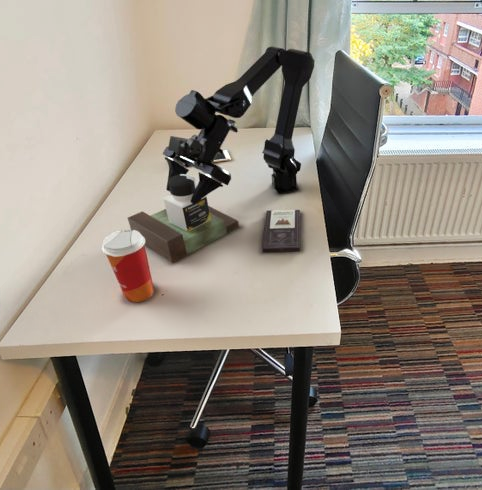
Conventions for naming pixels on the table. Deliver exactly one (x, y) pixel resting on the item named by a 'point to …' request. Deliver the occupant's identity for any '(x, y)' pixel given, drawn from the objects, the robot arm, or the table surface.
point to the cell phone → (222, 157)
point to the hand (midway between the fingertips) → (180, 196)
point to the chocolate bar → (282, 231)
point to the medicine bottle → (185, 204)
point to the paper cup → (129, 264)
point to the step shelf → (179, 233)
